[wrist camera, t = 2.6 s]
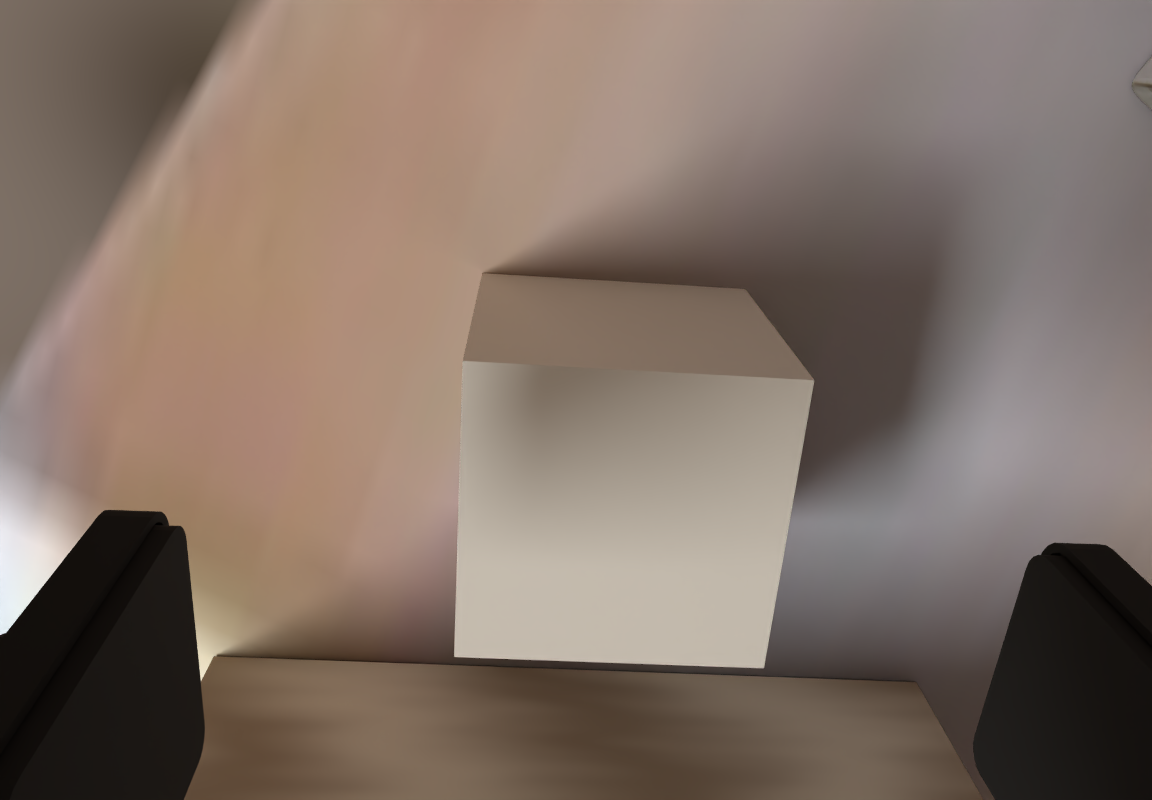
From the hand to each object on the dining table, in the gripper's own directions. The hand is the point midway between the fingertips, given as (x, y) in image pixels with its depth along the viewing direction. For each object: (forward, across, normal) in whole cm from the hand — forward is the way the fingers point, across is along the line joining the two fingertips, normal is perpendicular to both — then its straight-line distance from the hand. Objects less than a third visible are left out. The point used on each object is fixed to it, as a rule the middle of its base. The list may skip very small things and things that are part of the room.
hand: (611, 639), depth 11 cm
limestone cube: (+9, -1, +1) cm, 9 cm away
